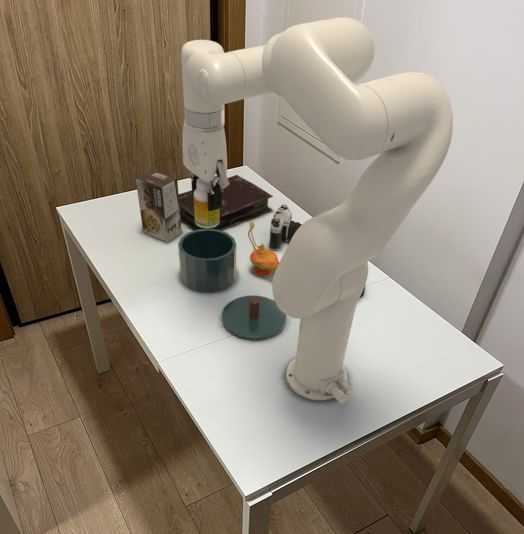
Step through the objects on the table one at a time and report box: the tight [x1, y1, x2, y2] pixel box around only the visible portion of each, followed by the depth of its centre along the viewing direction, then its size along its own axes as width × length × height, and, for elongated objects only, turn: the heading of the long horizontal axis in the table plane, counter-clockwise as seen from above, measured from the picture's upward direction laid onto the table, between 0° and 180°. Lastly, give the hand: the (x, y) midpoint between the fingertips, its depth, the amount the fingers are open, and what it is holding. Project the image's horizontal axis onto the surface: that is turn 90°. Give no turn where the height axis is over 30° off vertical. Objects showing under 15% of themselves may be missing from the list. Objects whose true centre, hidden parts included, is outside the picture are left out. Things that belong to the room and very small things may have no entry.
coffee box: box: [135, 169, 182, 243], centre depth 142 cm, size 9×6×16 cm
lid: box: [221, 295, 287, 340], centre depth 121 cm, size 15×15×6 cm
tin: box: [177, 229, 237, 294], centre depth 130 cm, size 14×14×10 cm
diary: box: [178, 174, 274, 231], centre depth 155 cm, size 19×25×5 cm
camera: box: [268, 204, 303, 251], centre depth 145 cm, size 13×8×9 cm, turn 168°
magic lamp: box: [247, 220, 280, 277], centre depth 132 cm, size 7×18×11 cm, turn 33°
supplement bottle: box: [194, 178, 220, 228], centre depth 113 cm, size 5×5×10 cm
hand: (206, 202), depth 113 cm, fingers closed on supplement bottle, 5 cm apart
